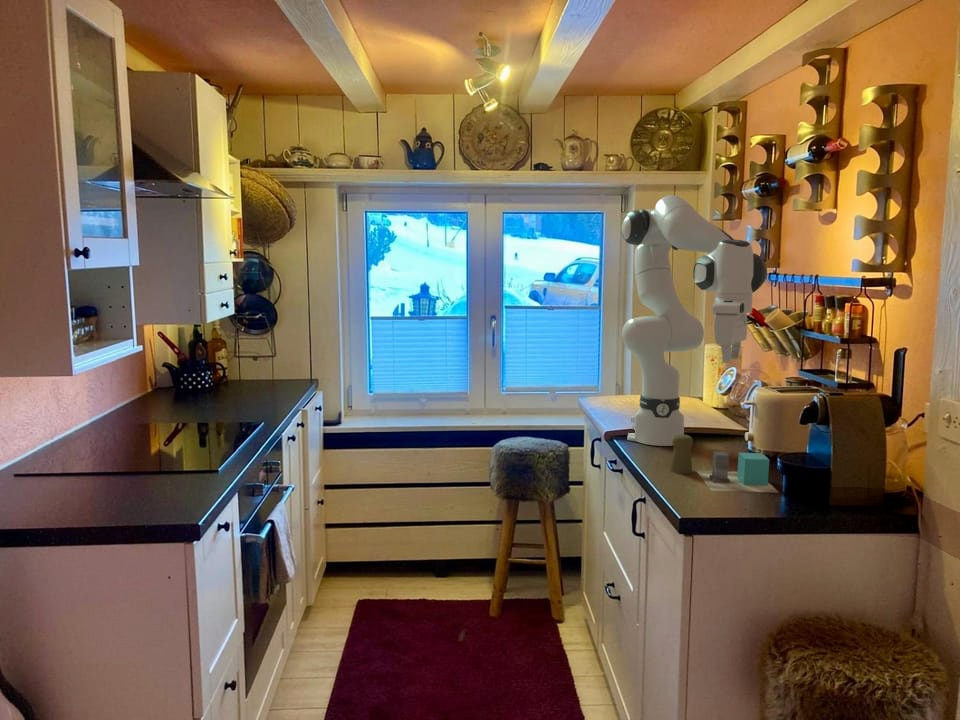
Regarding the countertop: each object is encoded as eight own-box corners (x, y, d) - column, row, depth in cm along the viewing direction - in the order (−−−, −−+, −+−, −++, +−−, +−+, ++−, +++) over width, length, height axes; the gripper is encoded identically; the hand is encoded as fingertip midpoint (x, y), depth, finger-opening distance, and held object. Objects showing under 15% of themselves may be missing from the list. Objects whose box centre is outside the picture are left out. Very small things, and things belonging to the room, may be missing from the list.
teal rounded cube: (737, 477, 186) (738, 452, 185) (760, 478, 185) (762, 453, 184) (743, 484, 180) (745, 458, 179) (767, 485, 180) (769, 459, 179)
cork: (674, 471, 196) (676, 431, 194) (696, 475, 192) (698, 435, 191) (665, 476, 191) (667, 435, 190) (686, 481, 188) (689, 439, 186)
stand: (696, 476, 192) (697, 444, 190) (758, 478, 191) (760, 446, 189) (710, 496, 176) (712, 462, 175) (778, 498, 175) (781, 464, 174)
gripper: (729, 303, 192) (726, 356, 193) (710, 306, 174) (708, 364, 176) (754, 304, 188) (751, 357, 190) (737, 307, 171) (735, 365, 173)
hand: (730, 360), depth 183 cm, fingers open, 8 cm apart
